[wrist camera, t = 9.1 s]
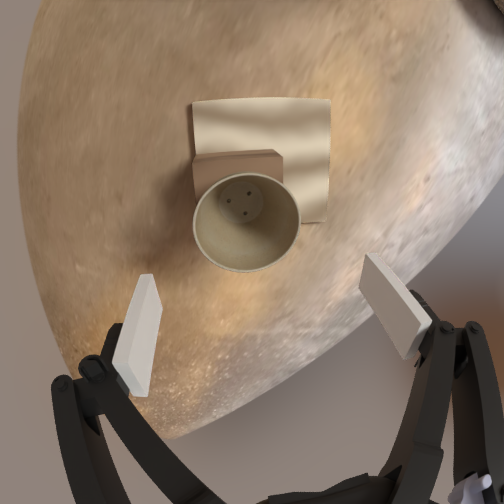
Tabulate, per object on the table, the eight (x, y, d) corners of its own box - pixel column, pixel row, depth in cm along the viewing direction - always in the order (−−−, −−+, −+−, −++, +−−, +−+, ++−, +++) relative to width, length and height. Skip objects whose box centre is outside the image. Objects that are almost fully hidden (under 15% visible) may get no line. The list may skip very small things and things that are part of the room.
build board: (192, 102, 31) (191, 102, 30) (327, 99, 33) (330, 99, 32) (204, 228, 40) (204, 231, 39) (323, 218, 42) (326, 221, 41)
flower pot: (227, 254, 35) (230, 289, 28) (180, 189, 30) (170, 212, 24) (298, 213, 33) (317, 241, 27) (257, 141, 28) (269, 151, 22)
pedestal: (195, 154, 34) (191, 163, 29) (273, 149, 35) (283, 156, 29) (203, 224, 39) (201, 244, 34) (274, 218, 40) (282, 237, 34)
